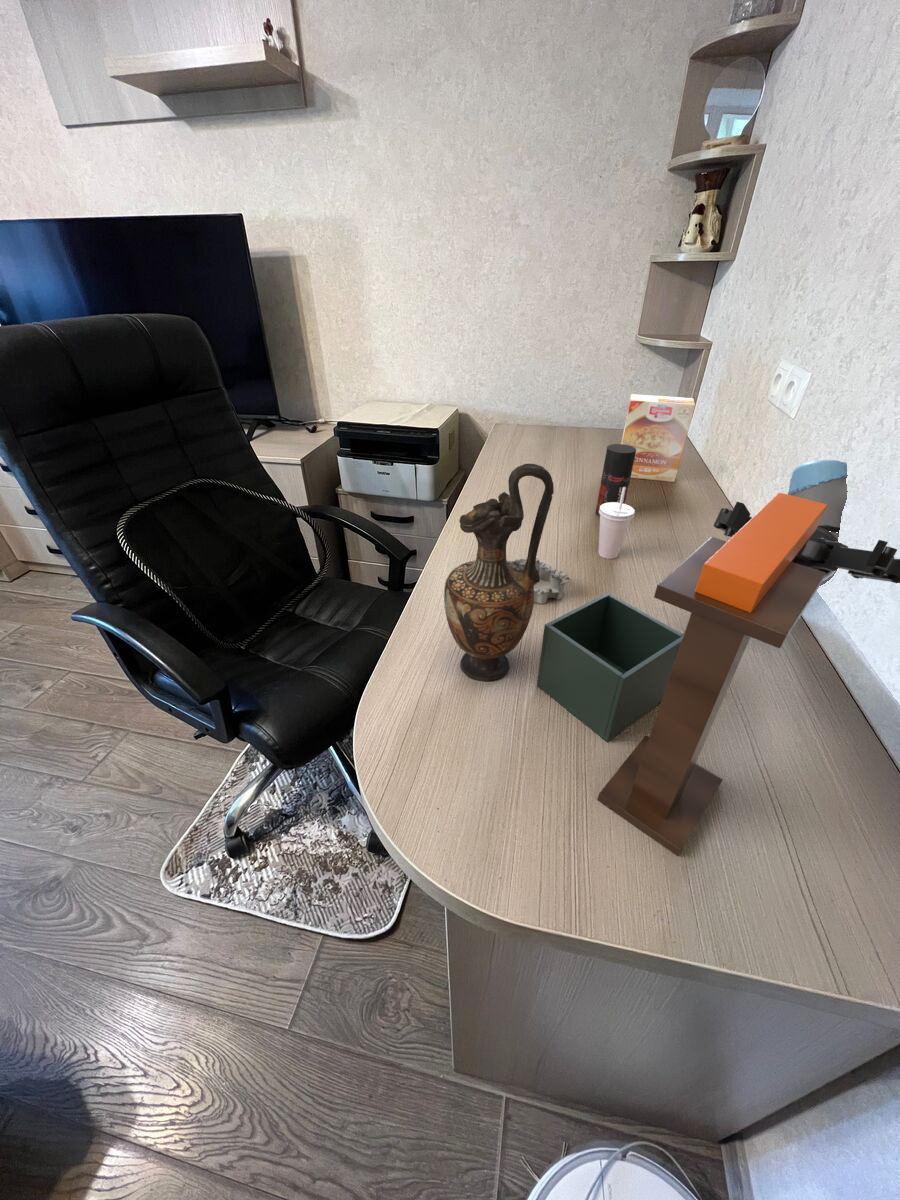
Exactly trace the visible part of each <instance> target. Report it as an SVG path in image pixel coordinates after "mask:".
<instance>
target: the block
mask: <svg viewBox="0 0 900 1200" xmlns="http://www.w3.org/2000/svg"><path fill="white" fill-rule="evenodd" d="M826 507H827V504H824V503H820V502H816V501H811V500H807V499H803V498H799V497H795V496H791V495H788V493H787V494H786V493H783V492H777V494H776V495H774V496H773V498H772V499H770V501H768V502H767V503H766V504H765V505H764V506H763V507H762V508H761V509H760V510H759V511H757V513H756V514H755V515H753V516H752V519H751V520H750V521H749V522H747V523H746V524H745V525H744V526H743V527H742V528H741V529H740V530H739V531H738V532H737V533H736V534H735V535H733V536H732V537H730V538H729V539H728V540H727V542H726V543H725V544H724V545H723V546H722V547H721V548H720V549H719V550H718V551H717V552H716V553H715V554H714V555H713V556H712V557H711V558H710V559H709V560H708V561H707V562H705V563H704V565H703V568H702V571H701V574H700V577H699V580H698V583H697V586H696V589H695V592H697V593H700V594H702V595H705V596H707V597H710V598H713V599H715V600H718V601H720V602H723V603H726V604H728V605H731V606H734V607H736V608H739V609H741V610H744V611H747V612H749V613H751V612H752V611H753V610H754V609H755V607H756V606H757V605H758V604H759V602H760V601H761V600H762V598H763V597H764V596H765V595H766V593H767V592H768V591H769V589H770V588H771V587H772V586H773V584H774V583H775V582H776V580H777V579H778V578H779V577H780V575H781V574H782V573H783V571H784V570H785V569H786V568H787V566H788V565H789V564H790V562H791V561H792V560H793V559H794V557H795V556H796V555H797V553H798V552H799V551H800V550H801V548H802V547H803V546H804V544H805V543H806V542H807V541H808V539H809V538H810V537H811V535H812V534H813V533H814V532H815V530H816V529H817V527H818V525H819V523H820V520H821V518H822V516H823V514H824V512H825V509H826Z"/></svg>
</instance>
